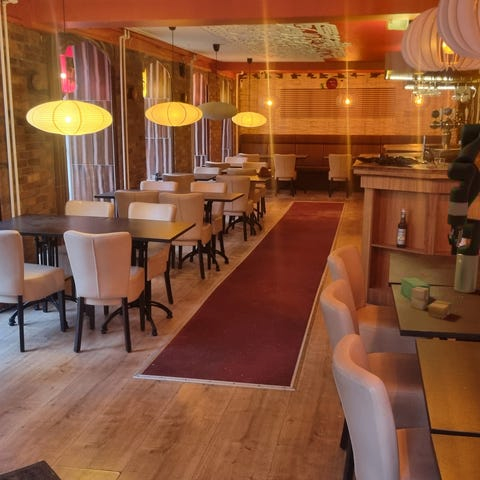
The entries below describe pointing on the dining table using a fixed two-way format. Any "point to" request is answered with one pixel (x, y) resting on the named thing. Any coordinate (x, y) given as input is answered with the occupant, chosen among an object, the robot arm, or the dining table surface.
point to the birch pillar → (419, 298)
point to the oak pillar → (439, 309)
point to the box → (412, 286)
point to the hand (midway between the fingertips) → (454, 254)
